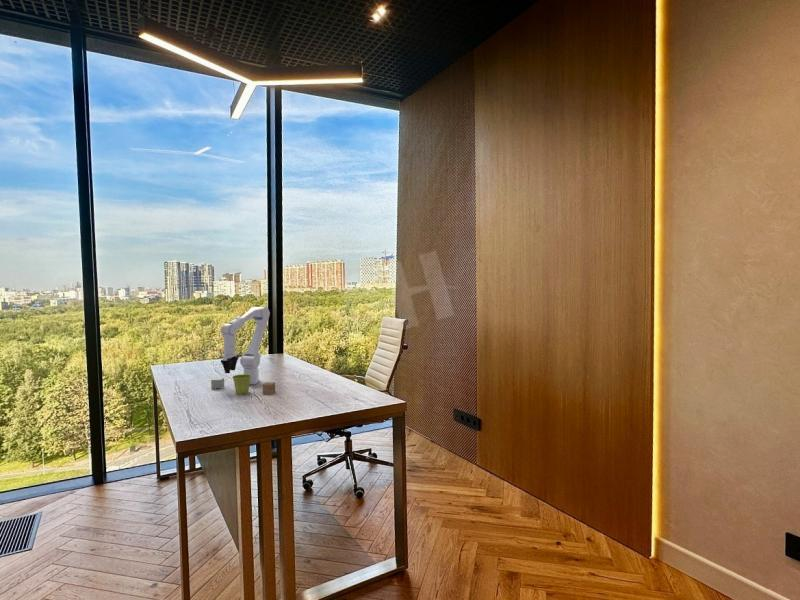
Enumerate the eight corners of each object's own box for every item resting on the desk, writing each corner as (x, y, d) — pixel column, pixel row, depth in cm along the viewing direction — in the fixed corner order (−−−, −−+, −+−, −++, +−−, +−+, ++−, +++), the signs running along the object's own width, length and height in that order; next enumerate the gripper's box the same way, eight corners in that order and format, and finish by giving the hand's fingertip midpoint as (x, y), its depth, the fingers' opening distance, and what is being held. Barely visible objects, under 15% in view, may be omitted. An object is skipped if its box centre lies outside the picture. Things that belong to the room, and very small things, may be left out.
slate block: (215, 387, 249) (215, 378, 248) (224, 387, 249) (224, 377, 248) (211, 389, 244) (211, 380, 243) (220, 389, 244) (220, 379, 243)
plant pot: (254, 390, 239) (254, 374, 239) (246, 395, 230) (246, 378, 230) (237, 390, 240) (237, 374, 240) (229, 394, 231) (228, 378, 231)
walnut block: (265, 391, 237) (265, 382, 237) (275, 391, 237) (275, 382, 237) (262, 394, 232) (262, 384, 232) (272, 394, 232) (272, 384, 232)
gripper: (227, 344, 249) (227, 369, 250) (216, 348, 235) (217, 374, 235) (240, 344, 249) (240, 369, 250) (230, 348, 235) (230, 374, 235)
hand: (230, 371), depth 243 cm, fingers open, 7 cm apart
